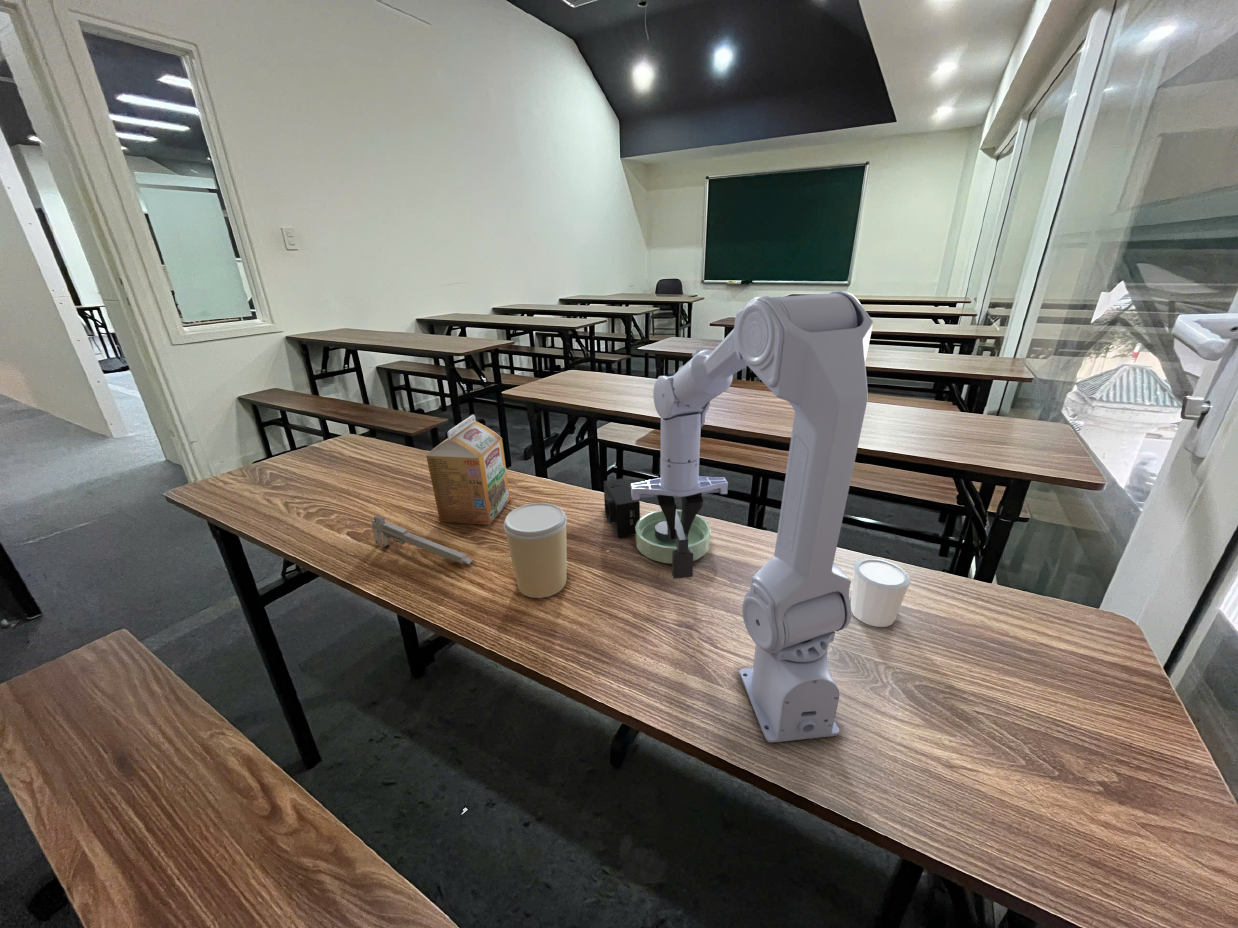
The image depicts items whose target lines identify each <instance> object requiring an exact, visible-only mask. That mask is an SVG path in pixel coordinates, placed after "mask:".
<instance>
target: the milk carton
mask: <svg viewBox="0 0 1238 928" xmlns="http://www.w3.org/2000/svg"><path fill="white" fill-rule="evenodd" d="M446 433H447V438H446V439H445V440H443V441H442V442H440V443H439V444H438V445H436V446H435V447H433V448H432V449H431V450H430V451H429V452H428V453H427V454H426V456H425V458H426V462H427V467H428V472H429V476H430V481H431V486H432V490H433V491H432V492H433V495H434V496H433V497H434V500H435V506H436V510H437V515H438V521H439V522H442V523H461V524H472V525H485V526H486V525H487V526H490V525H491V524H492V523H493V521H495V519H496V518H497V517H498V515H499V514H500V513H501V512H502V510H504V508H505V507H506V506H507V504H508V503H509V502H510V501H511V495H510V487H509V481H508V480H509V479H508V473H507V466H506V459H505V451H504V443H503V438H502V437H501V436H500V435H499V434H498V433H497V432H495V431H494V430H493V429H490V428H489V427H488V426H486V425H484V424H483V423H480V422H479V421H478V420H476V415H475V414H471V415H470V416H468V417H466V418H465V419H464V420H462V421H461V422H459V423H458V424H457V425H455V426H454V427H452V428H451V429H449V430H448V431H447V432H446Z"/></svg>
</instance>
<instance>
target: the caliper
mask: <svg viewBox="0 0 1238 928" xmlns="http://www.w3.org/2000/svg"><path fill="white" fill-rule="evenodd" d="M371 529H372V530H371V531H372V534H373V539H374V541H375V544H377V545H380V544H381V543H382V545H383V548H386V547H387V546H388V545H390V544H391V541H392V540H393V541H394V542H395V543H400V544H401V545H405V544H406V543H407V544H410V545H412V546H415V547H416V548H417V547H418V548H420V549H423V550H425V551H427V552H430V553H432V554H435V555H437V556H440V557H442V558H446V559H448V560H450V561H451V562H455V563H457V564H460V565H463V564H466V565H469V564H471V563H472V562H473V560H472V559H471V558H470V557H468V556H466V553H462V552H460V551H457V550H455V549H452V548H450V547H447V546H445V545H442V544H439V543H437V542H435V541H432V540H430V539H427V538H425V537H421V536H419V535H416V534H414V533H412V532H409V531H408V529H406V528H403V527H401V526H398V525H396V524H394V523H391V522H389V521H386V522H385V516H382V517H381V515H380V513H378V514H376V515H374V517H373V520H371Z"/></svg>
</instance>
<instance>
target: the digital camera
mask: <svg viewBox="0 0 1238 928" xmlns="http://www.w3.org/2000/svg"><path fill="white" fill-rule="evenodd" d="M603 494H604V495H603V499H604V500H603V501H604V513H605V517H606V520H607V523H609V524H610V525H611V527H612V530H613V531H614V532H615V535H616V537H617V539H618V538H619V539H620V538H625V537H632V536H635V526H636V524H637V521H638V520H639V519H640V518H641V501H640V499H639V500H632V496H631V485H630V484H629V483H628V482H627V481H626V479H625V478H616V479H609V480H603Z"/></svg>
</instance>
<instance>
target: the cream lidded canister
mask: <svg viewBox="0 0 1238 928" xmlns="http://www.w3.org/2000/svg"><path fill="white" fill-rule="evenodd" d="M567 523H568V517H567V515H566V513H565V510H563V509H562V508H561V507H560V506H558V505H556V504H553V503H547V502H534V503H533V502H532V503H528V504H527V503H526V504H523V505H521V506H518V507H516V508H514V509H513V510H511V511H510V512H509V513H508V514H507V515H506V517H505V519H504V522H503V531H504V532H505V535H506V540H507V541H506V542H507V545H508V550H509V553H510V560H511V564H512V567H513V573H514V577H515V581H516V585H517V588H518V590H519V592H520V593H521V594H522V595H524V596H525V597H528V598H533V599H542V598H543V599H544V598H548V597H551V596H554V595H556V594H557V593H559V592H561V591H562V590H563V589H564V587H565V586H566V583H567V575H568V572H567V571H568V570H567V569H568V568H567V567H568V565H567V563H568V562H567V560H568V557H567V553H568V551H567Z"/></svg>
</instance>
